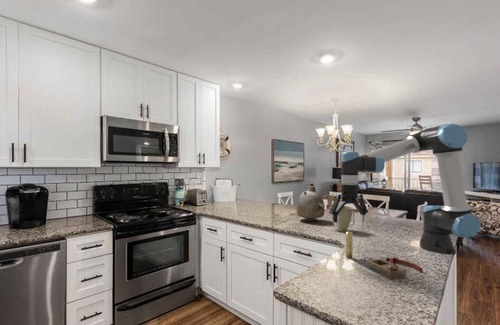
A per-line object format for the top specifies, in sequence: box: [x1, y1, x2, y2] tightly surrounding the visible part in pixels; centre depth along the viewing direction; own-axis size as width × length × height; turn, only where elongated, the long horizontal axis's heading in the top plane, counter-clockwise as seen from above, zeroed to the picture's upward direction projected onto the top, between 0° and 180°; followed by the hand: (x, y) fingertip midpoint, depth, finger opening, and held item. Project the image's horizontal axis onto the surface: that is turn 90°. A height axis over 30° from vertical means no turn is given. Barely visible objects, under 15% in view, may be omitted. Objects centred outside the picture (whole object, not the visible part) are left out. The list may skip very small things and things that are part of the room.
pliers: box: [378, 253, 423, 273], centre depth 116 cm, size 12×20×3 cm, turn 6°
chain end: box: [357, 256, 383, 275], centre depth 111 cm, size 8×13×2 cm, turn 17°
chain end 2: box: [366, 257, 407, 281], centre depth 106 cm, size 8×13×4 cm, turn 17°
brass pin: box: [345, 230, 354, 259], centre depth 123 cm, size 3×3×12 cm
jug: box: [296, 182, 325, 222], centre depth 205 cm, size 24×21×30 cm
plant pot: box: [329, 205, 354, 233], centre depth 176 cm, size 15×15×16 cm
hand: (348, 228), depth 123 cm, fingers open, 13 cm apart
